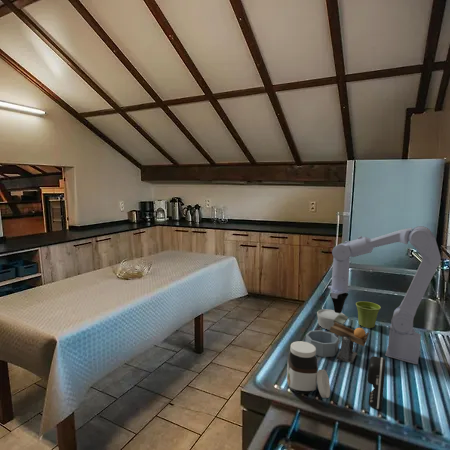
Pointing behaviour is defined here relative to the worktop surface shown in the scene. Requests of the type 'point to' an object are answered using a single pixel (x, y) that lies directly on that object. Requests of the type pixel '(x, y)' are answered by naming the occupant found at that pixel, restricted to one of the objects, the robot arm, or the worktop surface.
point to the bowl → (323, 342)
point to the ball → (359, 333)
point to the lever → (346, 330)
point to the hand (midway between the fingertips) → (338, 312)
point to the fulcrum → (346, 350)
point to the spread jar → (306, 370)
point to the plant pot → (367, 313)
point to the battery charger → (376, 381)
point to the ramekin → (327, 318)
